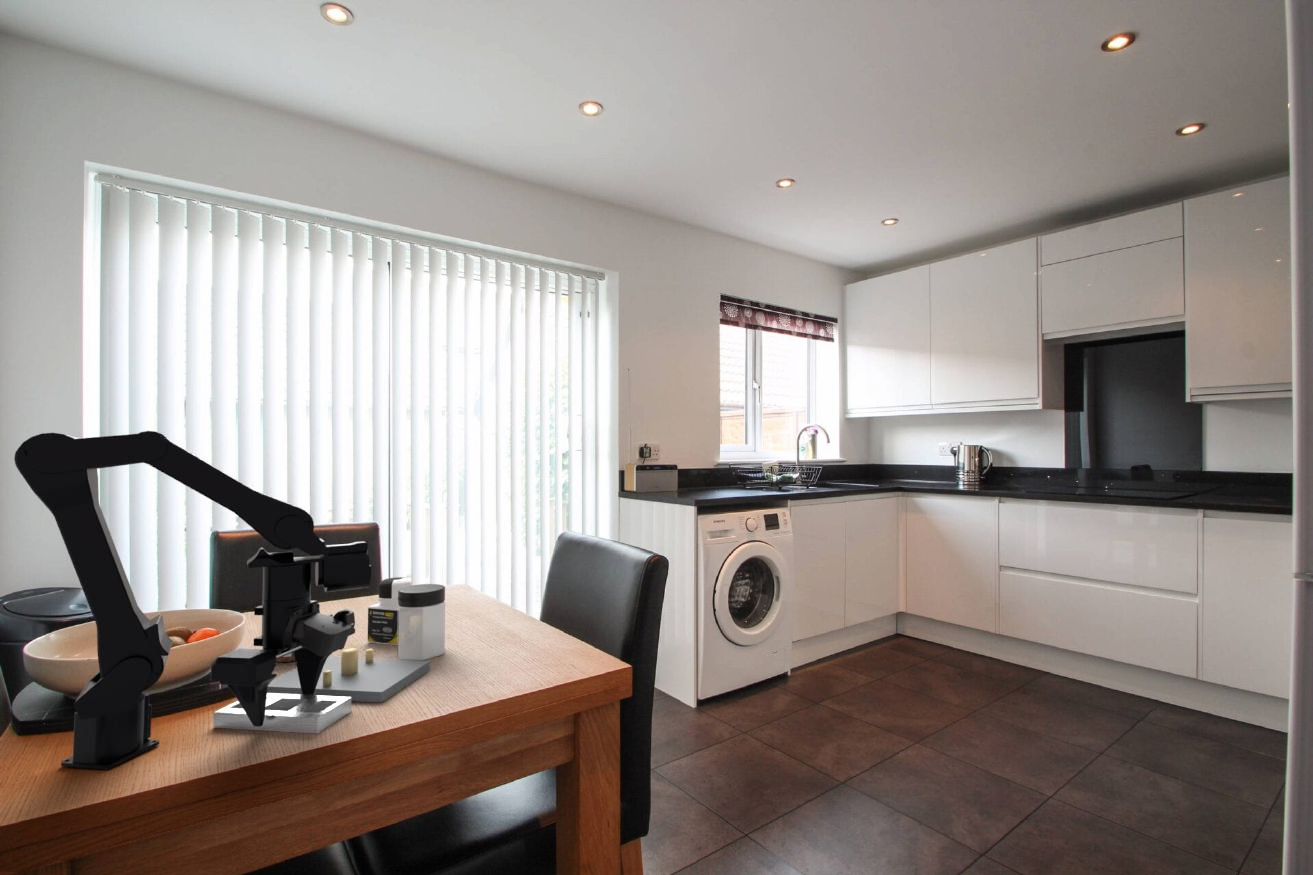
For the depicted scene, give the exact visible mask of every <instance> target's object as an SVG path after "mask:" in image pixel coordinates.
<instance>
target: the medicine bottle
mask: <svg viewBox="0 0 1313 875" xmlns="http://www.w3.org/2000/svg"><path fill="white" fill-rule="evenodd" d="M412 583H413V582H412V580H411V579H410V578H407V577H403V576H402V577H401V576H398V577H390V578H386V579H383V580H381V581H380V582H379V583H378V602H379V603H375V604H371V605H369V606H368V607H367V643H368V644H369V643H370V644H378V645H387V646H388V645H389V646H398V590H399V589H401V588H403V587H407V586H412V585H413V584H412Z"/></svg>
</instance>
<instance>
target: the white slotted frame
mask: <svg viewBox="0 0 1313 875" xmlns="http://www.w3.org/2000/svg"><path fill="white" fill-rule="evenodd" d="M351 712H352V701H351V697H340V696H320V695H300V694H280V693H267V697H266V708H265V717H264V722H263V725H262V726H260V727H256V726H253V724H252V723H251V721H250V719H249V718H248V716H247V714H246V713H245V711H244V709H243V707H242V706H241V704H240V703H239V701H238V700H237V701H235V702H233V703H230V704H228V705H226V706H224V707H221V708H219V709H218V710H216V711H214V712H213V728H215V729H216V728H217V729H219V728H220V729H232V730H233V729H235V730H247V731H248V730H250V731H267V732H268V731H270V732H282V733H283V732H284V733H300V734H301V733H302V734H303V733H304V734H319V733H320V732H322V731H323V730H325V729H326V728H328V727H330V726H331V725H333V724H334V723H336V722H337V721H339V720H340V719H342V718H343V717H345V716H346V715H348V714H350V713H351Z"/></svg>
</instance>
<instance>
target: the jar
mask: <svg viewBox="0 0 1313 875" xmlns="http://www.w3.org/2000/svg"><path fill="white" fill-rule="evenodd" d="M445 600H446V586H444V585H442V584H437V583H436V584H435V583H425V584H424V583H421V584H412V586H407V587H403V588H401V589H399V590H398V645H397V660H421V661H427V660H429V659H432V658H436V657H439V656H443V655H444V654H445V652H446V651H445V650H446V648H445V647H446V645H445V644H446V602H445Z"/></svg>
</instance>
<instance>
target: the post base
mask: <svg viewBox="0 0 1313 875" xmlns="http://www.w3.org/2000/svg"><path fill="white" fill-rule="evenodd" d="M340 653H341V655H340V656H328V658H327V659H326V662H325V664H324V666H323V669H322V672H321V675H320V677H319V680H318V683H317V686H316V689H315V691H314V694H313V695H320V696H340V697H351V702H364V703H365V702H366V703H368V702H369V703H384V702H385V701H386V700H389V698H391V697H392V696H393V695H395V694H396V693H398V692H400V691H401V690H403V689H404V688H406V687H407V686H409V685H410V684H412V683H413V682H414V681H416V680H418V679H419V678H420V677H422V676H423V675H425V674H426V673H428V672H429V671H430V670H431V660H423V661H421V660H399V659H394V658H393V659H392V658H374V649H373V648H368V649H365V657H359V649H358V648H356V647H355V648H351V647H350V648H346V649H345V648H344V650H343V649H342V650H341V652H340ZM405 686H406V687H405ZM402 688H403V689H402ZM267 693H280V694H300V695H303V693H302V690H301V686H300V681H299V676H298V671H297V667H296V668H294V669H292V670H290V671H288V672H286V673H284V674H282V675H279V676H276V677H275V678H274V679H273V680H272V681H271V683H270V684H269V685H268V687H267ZM383 701H384V702H383Z"/></svg>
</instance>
